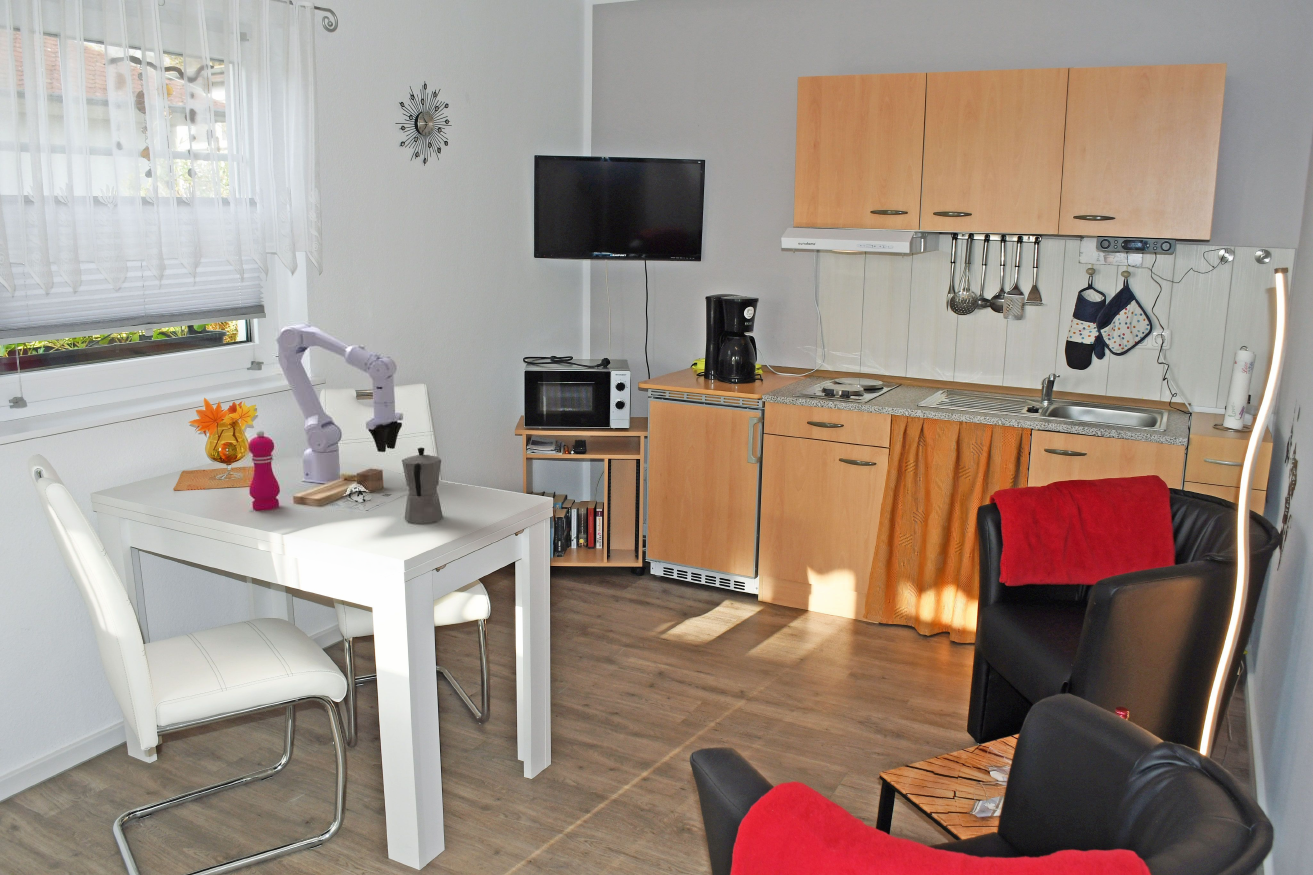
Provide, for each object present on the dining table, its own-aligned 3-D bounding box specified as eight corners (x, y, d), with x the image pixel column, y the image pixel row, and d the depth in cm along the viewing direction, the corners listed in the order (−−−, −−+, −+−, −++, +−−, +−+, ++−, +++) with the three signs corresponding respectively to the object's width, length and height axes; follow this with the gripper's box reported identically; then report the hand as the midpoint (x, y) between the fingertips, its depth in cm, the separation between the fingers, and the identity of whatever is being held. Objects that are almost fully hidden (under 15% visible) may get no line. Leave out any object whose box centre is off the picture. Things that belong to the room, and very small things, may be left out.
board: (293, 503, 252) (292, 495, 252) (344, 483, 272) (344, 476, 271) (319, 506, 250) (318, 498, 249) (369, 486, 269) (368, 479, 269)
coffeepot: (408, 511, 246) (405, 441, 242) (446, 511, 247) (443, 441, 243) (398, 530, 231) (395, 456, 227) (439, 529, 232) (436, 455, 228)
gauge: (335, 488, 266) (334, 471, 265) (349, 483, 272) (348, 466, 271) (370, 492, 263) (369, 474, 262) (383, 487, 268) (382, 469, 267)
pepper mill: (270, 512, 244) (264, 433, 240) (244, 510, 246) (238, 432, 242) (286, 504, 251) (281, 428, 247) (261, 502, 253) (255, 426, 249)
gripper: (380, 407, 261) (383, 456, 263) (411, 398, 274) (413, 445, 277) (358, 405, 263) (361, 454, 266) (390, 396, 276) (392, 443, 279)
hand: (386, 450), depth 271 cm, fingers open, 4 cm apart
